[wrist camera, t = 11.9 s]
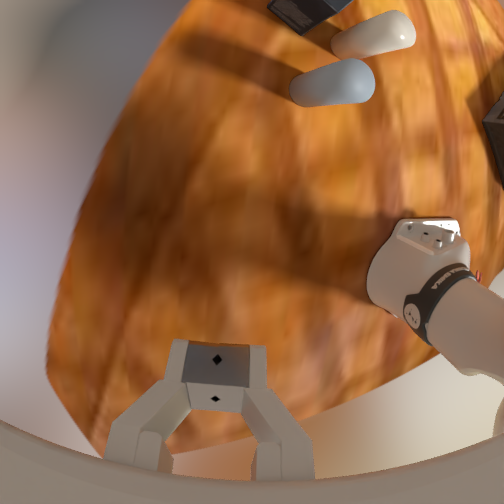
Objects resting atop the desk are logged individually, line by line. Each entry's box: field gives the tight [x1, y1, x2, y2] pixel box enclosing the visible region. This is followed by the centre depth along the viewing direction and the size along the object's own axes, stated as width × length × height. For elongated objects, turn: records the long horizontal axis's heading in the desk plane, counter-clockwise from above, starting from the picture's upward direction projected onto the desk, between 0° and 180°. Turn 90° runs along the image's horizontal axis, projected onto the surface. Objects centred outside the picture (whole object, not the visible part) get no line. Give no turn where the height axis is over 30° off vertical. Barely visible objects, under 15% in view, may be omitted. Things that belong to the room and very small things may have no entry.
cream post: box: [331, 10, 416, 60], centre depth 28 cm, size 4×4×12 cm
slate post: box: [289, 58, 375, 107], centre depth 29 cm, size 4×4×12 cm
